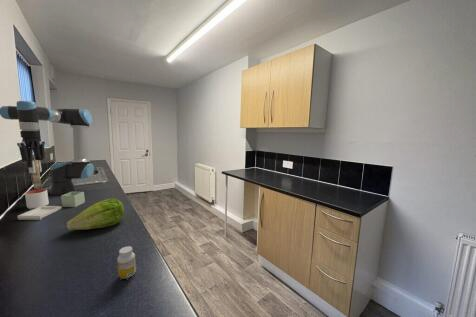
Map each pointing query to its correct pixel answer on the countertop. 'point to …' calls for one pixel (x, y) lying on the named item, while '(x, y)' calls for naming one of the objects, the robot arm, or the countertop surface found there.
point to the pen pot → (72, 199)
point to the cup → (36, 198)
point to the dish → (39, 213)
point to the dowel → (36, 176)
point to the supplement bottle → (126, 262)
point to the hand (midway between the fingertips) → (35, 172)
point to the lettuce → (98, 215)
